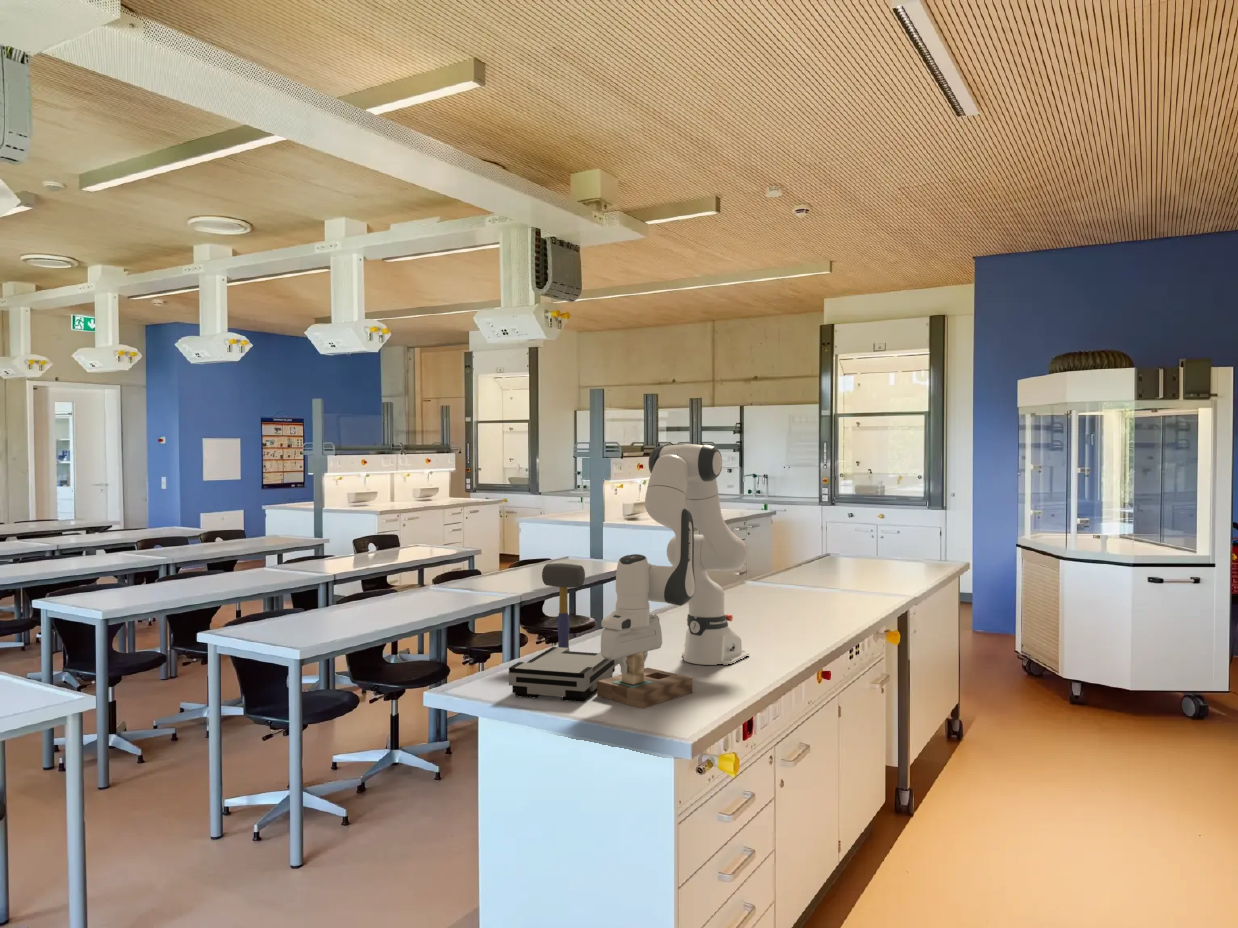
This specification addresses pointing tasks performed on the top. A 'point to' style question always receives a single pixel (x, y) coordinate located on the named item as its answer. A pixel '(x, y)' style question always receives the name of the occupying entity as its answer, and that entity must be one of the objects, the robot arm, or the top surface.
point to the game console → (561, 674)
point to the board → (646, 688)
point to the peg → (634, 670)
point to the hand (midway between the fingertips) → (632, 670)
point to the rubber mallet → (563, 592)
